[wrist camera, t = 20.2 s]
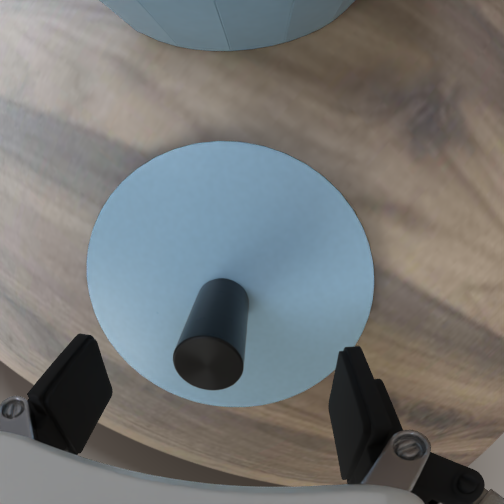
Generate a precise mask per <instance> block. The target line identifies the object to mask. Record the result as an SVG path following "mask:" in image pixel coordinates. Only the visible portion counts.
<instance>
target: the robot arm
mask: <svg viewBox="0 0 504 504" xmlns="http://www.w3.org/2000/svg"><path fill="white" fill-rule="evenodd" d="M27 395H28V397H29V399H28V401H27V400H26V399H25V398H23V397H21V396H12V397H9V398H7V399H5V400H4V401H3V402H2V403H1V404H0V504H504V498H502V497H501V496H500V495H499V494H497V493H496V492H494V491H493V490H492V489H490V490H489V491H488V490H486V489H485V488H484V480H483V478H482V476H481V475H480V474H479V473H478V472H477V471H475V470H473V469H471V468H468V467H466V466H463V465H461V464H458V463H456V462H453V461H451V460H448V459H446V458H443V457H441V456H439V455H436V454H434V453H432V452H430V451H431V445H430V442H429V440H428V438H427V437H426V436H425V435H423V434H422V433H420V432H418V431H414V430H403V429H402V427H401V424H400V422H399V419H398V417H397V414H396V412H395V409H394V407H393V405H392V402H391V400H390V397H389V395H388V393H387V390H386V388H385V386H384V383H383V382H382V380H381V379H374V378H373V375H372V373H371V370H370V368H369V366H368V363H367V361H366V358H365V356H364V354H363V351H362V349H361V347H360V346H355V347H345V348H344V350H343V351H339V354H338V359H337V364H336V370H335V375H334V380H333V385H332V390H331V394H330V399H329V413H330V418H331V423H332V429H333V434H334V439H335V444H336V450H337V455H338V460H339V466H340V472H341V477H342V479H343V480H346V479H347V483H348V484H343V485H322V486H302V487H252V486H233V485H220V484H209V483H200V482H192V481H184V480H178V479H171V478H166V477H160V476H154V475H149V474H145V473H140V472H135V471H131V470H127V469H123V468H119V467H115V466H111V465H107V464H104V463H100V462H97V461H93V460H90V459H87V458H84V457H81V456H78V455H77V454H78V453H81V452H82V450H83V448H84V446H85V444H86V443H87V440H88V439H89V437H90V435H91V433H92V431H93V429H94V428H95V426H96V424H97V422H98V420H99V418H100V416H101V415H102V413H103V411H104V409H105V407H106V405H107V404H108V402H109V400H110V398H111V396H112V387H111V384H110V381H109V378H108V375H107V372H106V369H105V366H104V363H103V360H102V357H101V353H100V350H99V347H98V343H97V341H96V340H95V339H94V338H93V336H91V335H85V334H78V335H77V336H76V337H75V338H74V339H73V340H72V341H71V342H70V344H69V345H68V346H67V347H66V348H65V349H64V350H63V352H62V353H61V354H60V355H59V356H58V357H57V359H56V360H55V361H54V362H53V363H52V364H51V366H50V367H49V368H48V369H47V370H46V372H45V373H44V374H43V375H42V376H41V378H40V379H39V380H38V381H37V382H36V384H35V385H34V386H33V388H32V389H31V390H30V391H29V392H28V394H27Z"/></svg>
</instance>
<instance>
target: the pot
mask: <svg viewBox="0 0 504 504" xmlns="http://www.w3.org/2000/svg"><path fill="white" fill-rule="evenodd" d="M99 1H101V2H102V3H103V4H104V5H106V6H107V7H108V8H109V9H111V10H112V11H113V12H114V13H116V14H117V15H118V16H119V17H120V18H122V19H123V20H124V21H125V22H126V23H128V24H129V25H130V26H131V27H132V28H134V29H135V30H136V31H137V32H139V33H142V34H145V35H147V36H149V37H151V38H153V39H156V40H158V41H160V42H164V43H167V44H171V45H174V46H178V47H184V48H189V49H196V50H207V51H236V50H248V49H256V48H262V47H268V46H273V45H277V44H280V43H284V42H288V41H292V40H294V39H297V38H300V37H303V36H305V35H308V34H310V33H312V32H314V31H316V30H318V29H320V28H322V27H324V26H325V25H327V24H329V23H331V22H332V21H333V20H335V19H336V18H337V17H338V16H340V15H341V14H342V13H343V12H344V11H345V10H346V9H347V8H348V7H349V6H350V5H351V4H352V3H353V2H354V1H355V0H99Z"/></svg>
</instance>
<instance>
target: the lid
mask: <svg viewBox="0 0 504 504" xmlns="http://www.w3.org/2000/svg"><path fill="white" fill-rule="evenodd" d="M87 282H88V289H89V295H90V299H91V302H92V306H93V309H94V312H95V314H96V317H97V319H98V321H99V324H100V326H101V328H102V329H103V331H104V333H105V335H106V336H107V338H108V340H109V341H110V343H111V344H112V345H113V347H114V348H115V349H116V351H117V352H118V353H119V354H120V355H121V356H122V357H123V359H124V360H125V361H126V362H127V363H128V364H129V365H130V366H131V367H133V368H134V369H135V370H136V371H137V372H138V373H140V374H141V375H142V376H143V377H145V378H146V379H148V380H149V381H151V382H152V383H154V384H155V385H157V386H159V387H161V388H162V389H164V390H166V391H168V392H170V393H173V394H175V395H177V396H180V397H182V398H185V399H188V400H192V401H195V402H198V403H203V404H208V405H213V406H223V407H250V406H259V405H265V404H269V403H274V402H278V401H281V400H284V399H287V398H290V397H292V396H295V395H297V394H299V393H301V392H303V391H305V390H307V389H309V388H311V387H312V386H314V385H315V384H317V383H319V382H320V381H322V380H323V379H324V378H325V377H327V376H328V375H329V374H330V373H332V372H333V371H334V370H335V369H336V364H337V359H338V354H339V351H343V350H344V348H345V347H354V346H355V345H356V343H357V341H358V339H359V338H360V336H361V334H362V332H363V330H364V327H365V325H366V322H367V320H368V317H369V313H370V309H371V305H372V301H373V291H374V267H373V260H372V255H371V250H370V245H369V243H368V240H367V237H366V234H365V232H364V229H363V227H362V225H361V223H360V221H359V219H358V217H357V216H356V214H355V212H354V210H353V209H352V207H351V206H350V205H349V203H348V202H347V201H346V199H345V198H344V197H343V196H342V194H341V193H340V192H339V191H338V190H337V189H336V188H335V187H334V186H333V185H332V184H331V183H330V182H329V181H328V180H327V179H326V178H325V177H323V176H322V175H321V174H319V173H318V172H317V171H315V170H314V169H312V168H311V167H310V166H308V165H307V164H305V163H303V162H301V161H299V160H297V159H295V158H294V157H292V156H290V155H288V154H286V153H283V152H280V151H277V150H274V149H271V148H268V147H265V146H261V145H256V144H251V143H245V142H235V141H212V142H203V143H195V144H191V145H187V146H184V147H180V148H176V149H173V150H171V151H169V152H166V153H164V154H162V155H159V156H157V157H155V158H153V159H152V160H150V161H148V162H147V163H145V164H144V165H142V166H140V167H139V168H137V169H136V170H135V171H134V172H133V173H132V174H130V175H129V176H128V177H127V178H126V179H125V180H123V181H122V183H121V184H120V185H119V186H118V187H117V188H116V190H115V191H114V192H113V193H112V194H111V195H110V197H109V199H108V200H107V202H106V203H105V205H104V206H103V208H102V210H101V211H100V214H99V216H98V218H97V221H96V223H95V225H94V228H93V231H92V235H91V238H90V242H89V247H88V255H87Z"/></svg>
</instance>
